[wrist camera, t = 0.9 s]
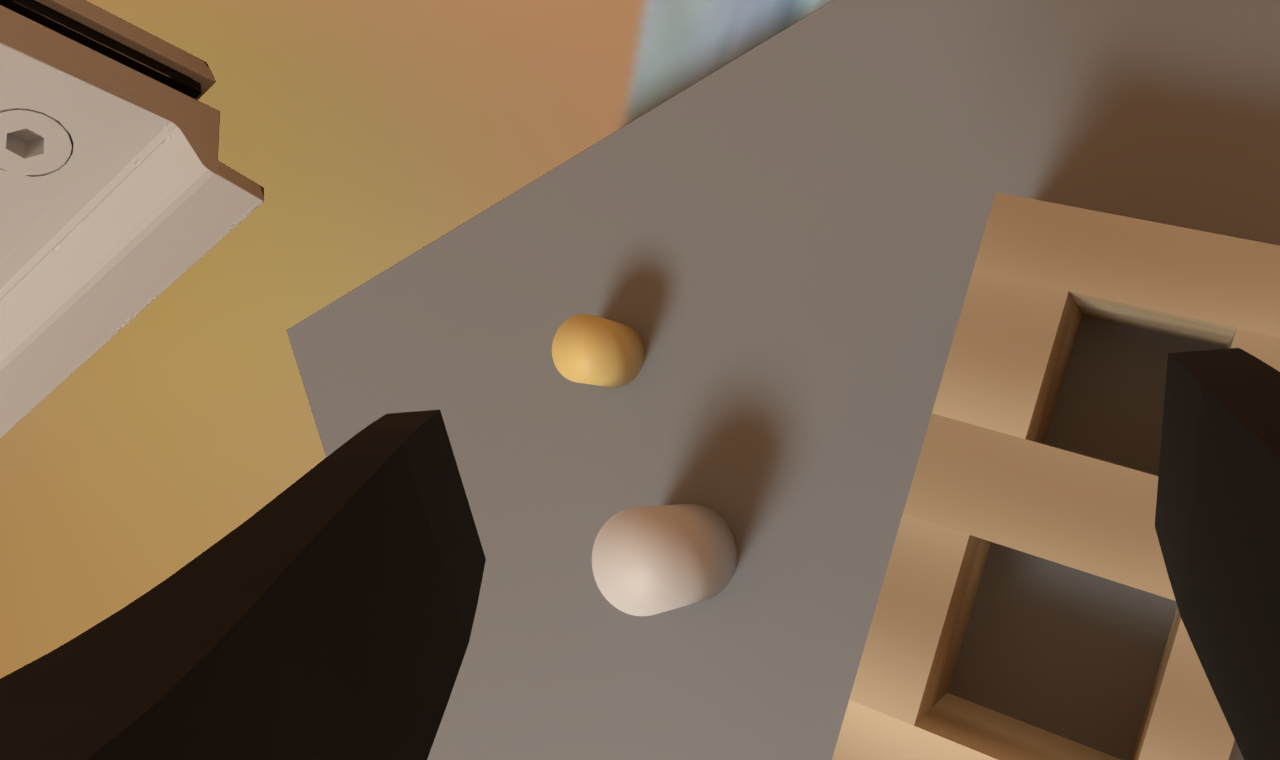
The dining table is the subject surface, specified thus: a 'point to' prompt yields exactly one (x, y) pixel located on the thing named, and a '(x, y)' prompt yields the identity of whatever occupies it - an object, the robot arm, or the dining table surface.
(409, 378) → the board
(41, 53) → the tan half-round piece
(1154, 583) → the tan block
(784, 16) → the dining table surface
